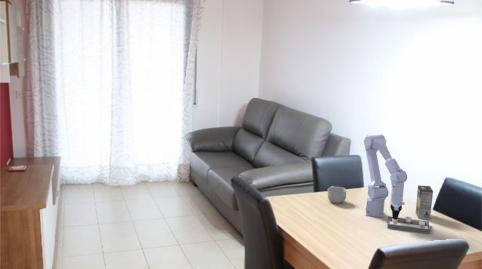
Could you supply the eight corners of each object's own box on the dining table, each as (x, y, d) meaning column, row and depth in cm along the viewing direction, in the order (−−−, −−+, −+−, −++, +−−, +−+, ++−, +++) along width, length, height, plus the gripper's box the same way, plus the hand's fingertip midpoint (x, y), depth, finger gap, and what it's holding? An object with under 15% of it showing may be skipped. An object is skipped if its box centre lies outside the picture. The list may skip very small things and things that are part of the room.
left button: (391, 224, 224) (392, 219, 224) (391, 222, 227) (392, 217, 227) (397, 224, 223) (398, 220, 223) (397, 222, 226) (398, 218, 226)
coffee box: (415, 212, 242) (417, 185, 239) (427, 213, 241) (429, 185, 238) (418, 218, 233) (420, 190, 230) (430, 219, 232) (433, 190, 229)
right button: (418, 227, 220) (419, 223, 220) (418, 225, 223) (418, 220, 222) (424, 228, 219) (425, 223, 219) (424, 226, 222) (425, 221, 221)
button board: (387, 228, 220) (387, 223, 219) (387, 219, 231) (388, 215, 231) (429, 234, 213) (430, 229, 213) (428, 225, 224) (428, 220, 224)
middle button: (405, 222, 222) (405, 218, 221) (405, 220, 225) (405, 216, 224) (411, 223, 221) (411, 219, 220) (411, 221, 224) (411, 217, 223)
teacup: (347, 205, 252) (348, 192, 251) (328, 205, 253) (329, 191, 251) (342, 197, 266) (342, 184, 265) (324, 197, 266) (325, 184, 265)
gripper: (405, 199, 214) (403, 225, 217) (405, 190, 228) (403, 215, 230) (390, 197, 216) (388, 223, 219) (391, 189, 230) (389, 213, 232)
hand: (395, 219), depth 225 cm, fingers closed, pressing on left button
